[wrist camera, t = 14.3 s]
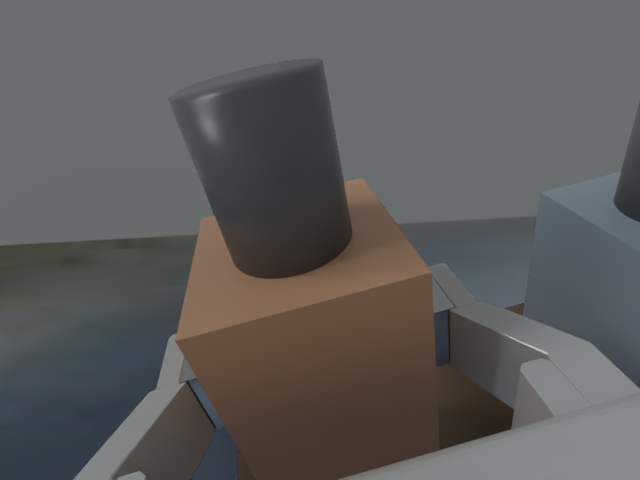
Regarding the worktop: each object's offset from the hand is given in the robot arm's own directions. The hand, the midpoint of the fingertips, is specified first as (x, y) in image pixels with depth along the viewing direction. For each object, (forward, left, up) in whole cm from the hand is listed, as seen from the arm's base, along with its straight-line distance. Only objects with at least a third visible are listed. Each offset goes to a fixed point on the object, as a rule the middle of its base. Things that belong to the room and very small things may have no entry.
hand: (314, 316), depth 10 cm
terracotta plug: (0, -1, -6) cm, 6 cm away
